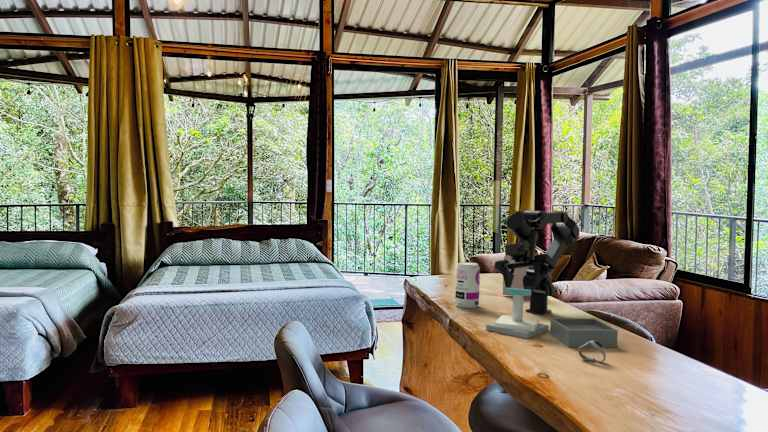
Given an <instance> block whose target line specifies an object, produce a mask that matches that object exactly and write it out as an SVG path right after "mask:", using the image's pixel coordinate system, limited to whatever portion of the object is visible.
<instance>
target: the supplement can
mask: <svg viewBox="0 0 768 432" xmlns="http://www.w3.org/2000/svg"><path fill="white" fill-rule="evenodd" d="M480 273H481V267H480V265H479V264H478V262H466V261H462V262H458V263H457V265H456V267H455V301H454V303H455V305H456V307H458V308H463V309H474V308H478V306H479V305H480V282H481V281H480V280H481V279H480V277H481V274H480Z"/></svg>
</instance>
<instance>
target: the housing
mask: <svg viewBox="0 0 768 432" xmlns="http://www.w3.org/2000/svg"><path fill="white" fill-rule="evenodd" d="M549 325H550V328H549V329H550V331H549V334H550V335H551V336H552V337H554V338H555V339H556V340H558V341H559V342H560V343H562V344H563V345H564V344H565V345H564V346H566V347H568V348H579V347H580V346H582V345H584V344H586V343H587V342H589V341H597V342H598V343H600V344H601V345H602V346H603V347H604V348H618V336H619V335H618V332H619V331H618V330H617V329H616V328H615V327H612V326H611V325H608V324H606V323H605V322H602V321H601V320H599V319H597V318H592V317H591V318H584V317H583V318H579V317H578V318H570V317H569V318H564V317H563V318H562V317H560V318H559V317H558V318H555V317H554V318H550V324H549ZM583 348H594V347H593V345H591V344H588V345H586V346H584V347H583Z"/></svg>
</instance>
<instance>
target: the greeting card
mask: <svg viewBox="0 0 768 432" xmlns="http://www.w3.org/2000/svg"><path fill="white" fill-rule="evenodd" d="M505 259H506V260H507V261H509V262H510V263H513V262H515V260H512V259H511V256H506V255H503V260H505ZM528 268H529V267H523V268H516V269H514V273H513V274H514V278H513V281H512V285H511V288H517V289H524V286H523V277H524V275H525V274H526V273H525V272H526V271H527V270H528ZM503 295H513V294H506V286H505V282H504V278H503V277H502V296H503ZM524 297H527V296H526V295H524Z"/></svg>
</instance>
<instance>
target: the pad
mask: <svg viewBox="0 0 768 432" xmlns="http://www.w3.org/2000/svg"><path fill="white" fill-rule="evenodd" d="M495 322H496V321H494V322H490V323H487V324H485V330H486V331H489V332H494V333H500V334H502V335H503V334H504V335H508V336H513V337H517V338H521V339H530V338H533V337H535V336H537V335H539V334H543V333H544V332H547V331H549V325H550V324H544V323H540V322H539V324H538V326H537V328H536V329H535V331H526V330H517V329H508V328H499V327H495Z"/></svg>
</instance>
